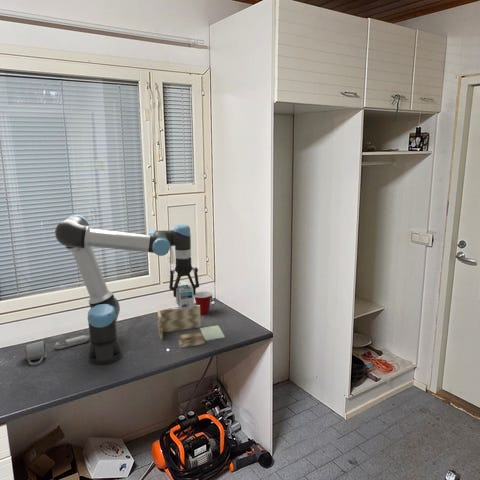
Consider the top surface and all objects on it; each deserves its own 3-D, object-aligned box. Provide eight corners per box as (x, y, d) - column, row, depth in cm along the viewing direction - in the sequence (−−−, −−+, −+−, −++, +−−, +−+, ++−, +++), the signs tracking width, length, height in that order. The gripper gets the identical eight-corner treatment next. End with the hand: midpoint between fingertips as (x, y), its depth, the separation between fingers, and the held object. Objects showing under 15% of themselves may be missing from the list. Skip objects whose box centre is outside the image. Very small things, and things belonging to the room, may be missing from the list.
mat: (205, 340, 206) (205, 339, 206) (199, 328, 219) (199, 327, 219) (225, 337, 209) (225, 337, 208) (218, 326, 222) (218, 325, 221)
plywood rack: (160, 340, 207) (159, 317, 204) (158, 331, 216) (157, 310, 213) (204, 333, 213) (203, 312, 210) (200, 326, 222) (199, 304, 219)
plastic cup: (208, 308, 245) (208, 288, 242) (215, 315, 236) (215, 295, 233) (191, 311, 241) (190, 291, 238) (197, 318, 231) (196, 298, 228)
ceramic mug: (27, 356, 192) (24, 341, 190) (46, 352, 196) (44, 337, 194) (25, 367, 183) (23, 352, 181) (46, 363, 186) (44, 348, 184)
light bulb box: (194, 308, 203) (193, 287, 201) (180, 310, 201) (180, 289, 198) (188, 301, 213) (188, 281, 210) (175, 303, 211) (175, 282, 208)
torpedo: (56, 352, 196) (54, 339, 195) (54, 348, 200) (52, 335, 199) (95, 341, 206) (94, 329, 205) (92, 338, 210) (91, 326, 208)
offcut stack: (180, 347, 199) (179, 338, 198) (178, 343, 203) (178, 334, 202) (204, 344, 203) (204, 335, 201) (202, 340, 207) (202, 331, 206)
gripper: (163, 261, 195) (165, 307, 200) (205, 257, 200) (206, 302, 206) (161, 256, 202) (163, 301, 207) (201, 253, 207) (203, 297, 213)
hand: (184, 301), depth 206 cm, fingers closed on light bulb box, 7 cm apart
